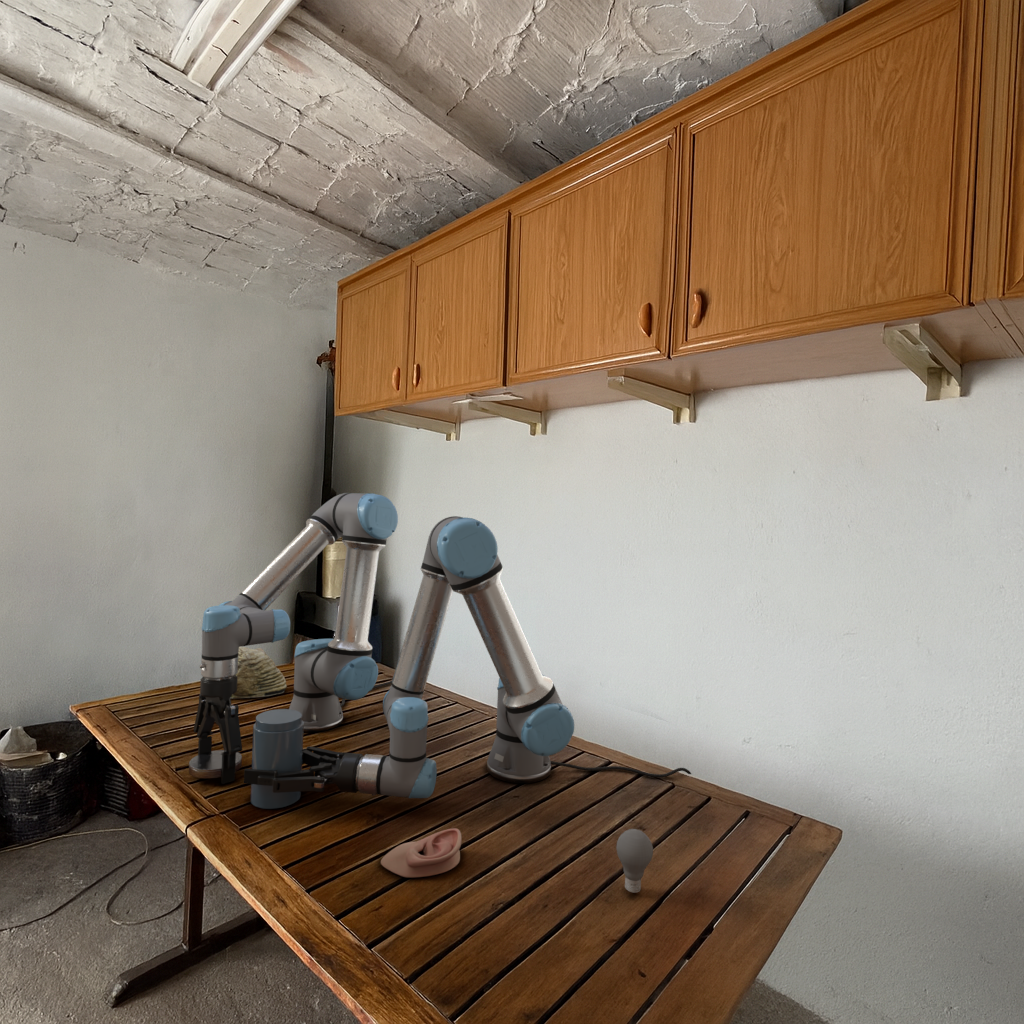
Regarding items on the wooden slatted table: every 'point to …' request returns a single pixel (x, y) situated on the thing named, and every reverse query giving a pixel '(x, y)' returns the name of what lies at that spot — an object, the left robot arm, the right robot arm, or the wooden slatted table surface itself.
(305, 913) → the wooden slatted table surface
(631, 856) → the light bulb
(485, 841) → the wooden slatted table surface
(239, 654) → the fossil
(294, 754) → the jar
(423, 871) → the anatomical model
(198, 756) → the lid
